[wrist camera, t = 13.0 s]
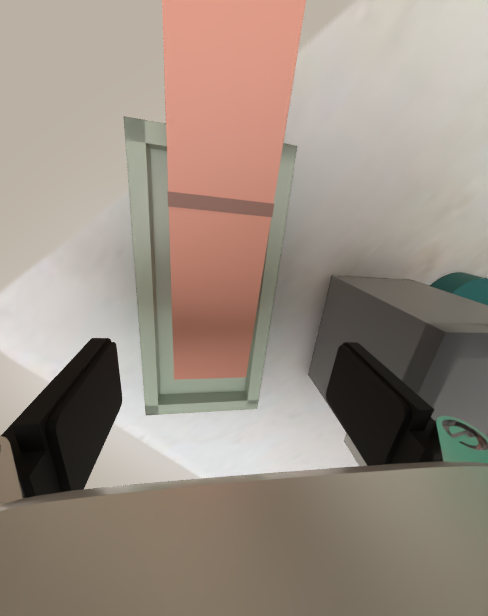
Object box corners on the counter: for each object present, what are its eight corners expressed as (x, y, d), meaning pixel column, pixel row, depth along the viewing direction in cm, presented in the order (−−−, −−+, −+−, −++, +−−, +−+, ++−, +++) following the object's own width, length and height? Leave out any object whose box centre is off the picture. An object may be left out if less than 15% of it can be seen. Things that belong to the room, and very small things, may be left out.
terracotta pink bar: (264, 40, 11) (319, -75, 6) (233, 322, 19) (246, 378, 14) (178, 18, 11) (157, -135, 5) (181, 321, 18) (173, 380, 13)
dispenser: (375, 378, 25) (474, 474, 16) (306, 381, 24) (373, 488, 14) (411, 280, 21) (571, 333, 12) (332, 275, 20) (446, 332, 11)
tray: (285, 153, 16) (297, 145, 14) (252, 393, 23) (257, 408, 21) (133, 128, 14) (123, 116, 12) (150, 397, 21) (145, 415, 19)
